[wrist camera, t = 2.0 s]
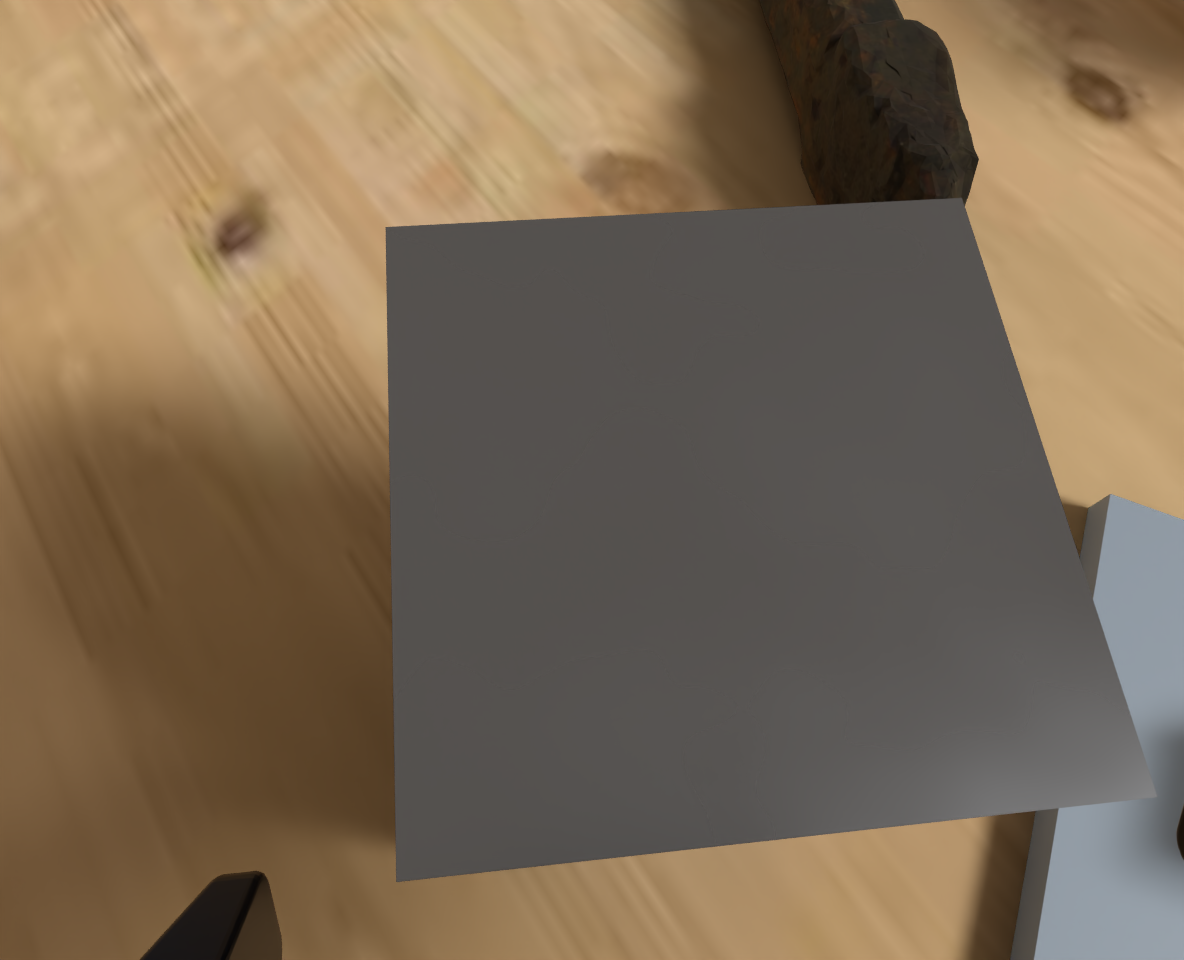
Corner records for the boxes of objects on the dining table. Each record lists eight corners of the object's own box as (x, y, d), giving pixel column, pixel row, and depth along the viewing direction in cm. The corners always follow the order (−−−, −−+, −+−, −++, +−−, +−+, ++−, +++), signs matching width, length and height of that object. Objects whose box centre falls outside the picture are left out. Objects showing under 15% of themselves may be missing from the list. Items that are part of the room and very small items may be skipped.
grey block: (786, 835, 18) (1157, 797, 7) (489, 867, 18) (396, 883, 7) (737, 554, 20) (962, 197, 9) (474, 576, 20) (385, 226, 9)
